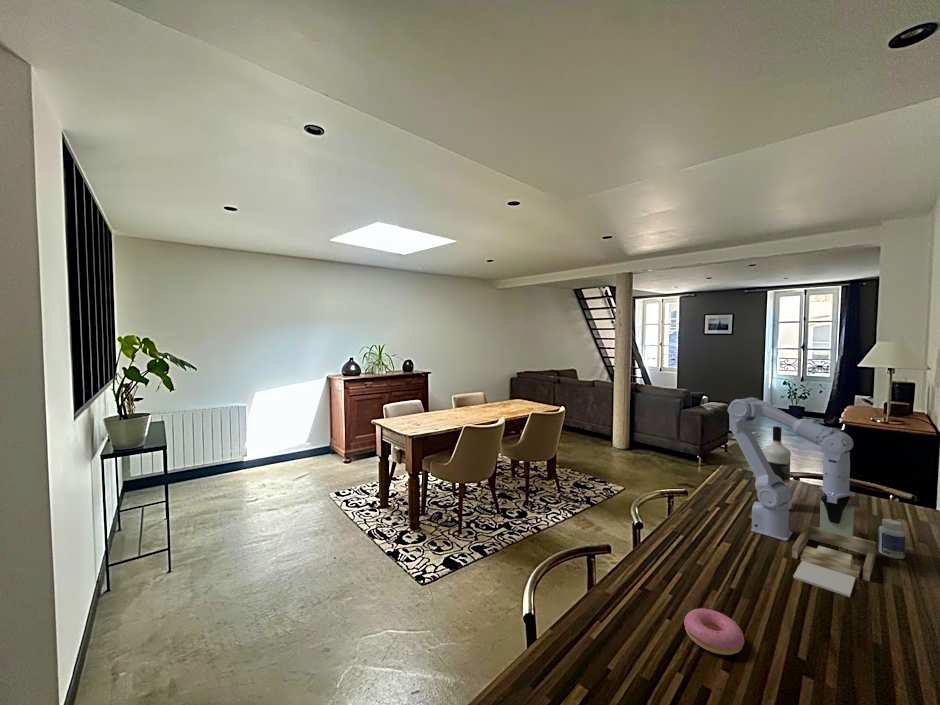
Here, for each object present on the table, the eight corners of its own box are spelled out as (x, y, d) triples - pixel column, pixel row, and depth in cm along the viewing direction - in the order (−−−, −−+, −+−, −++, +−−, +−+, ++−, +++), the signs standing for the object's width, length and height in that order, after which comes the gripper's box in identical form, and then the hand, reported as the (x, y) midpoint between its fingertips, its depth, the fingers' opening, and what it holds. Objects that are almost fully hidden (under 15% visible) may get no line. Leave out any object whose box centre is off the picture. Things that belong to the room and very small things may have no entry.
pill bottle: (910, 560, 116) (911, 526, 116) (887, 558, 117) (888, 524, 117) (894, 550, 121) (895, 518, 121) (873, 549, 122) (874, 516, 122)
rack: (791, 557, 118) (792, 543, 118) (804, 536, 130) (805, 523, 130) (869, 581, 106) (869, 566, 106) (875, 555, 118) (875, 542, 118)
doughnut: (676, 639, 86) (676, 620, 86) (693, 614, 94) (693, 597, 94) (736, 669, 78) (736, 647, 78) (750, 639, 86) (750, 620, 86)
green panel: (819, 530, 120) (820, 503, 120) (821, 526, 122) (821, 500, 122) (852, 538, 115) (852, 510, 115) (853, 535, 117) (854, 507, 117)
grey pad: (793, 578, 108) (793, 575, 108) (801, 562, 115) (801, 560, 115) (850, 597, 99) (850, 595, 99) (855, 579, 107) (855, 577, 107)
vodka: (763, 499, 161) (764, 423, 160) (793, 505, 154) (795, 426, 153) (758, 505, 154) (759, 426, 153) (789, 513, 148) (790, 430, 147)
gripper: (851, 484, 111) (850, 533, 111) (858, 472, 120) (857, 517, 121) (817, 477, 116) (817, 525, 116) (826, 466, 126) (825, 510, 126)
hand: (835, 520), depth 119 cm, fingers closed on green panel, 3 cm apart
